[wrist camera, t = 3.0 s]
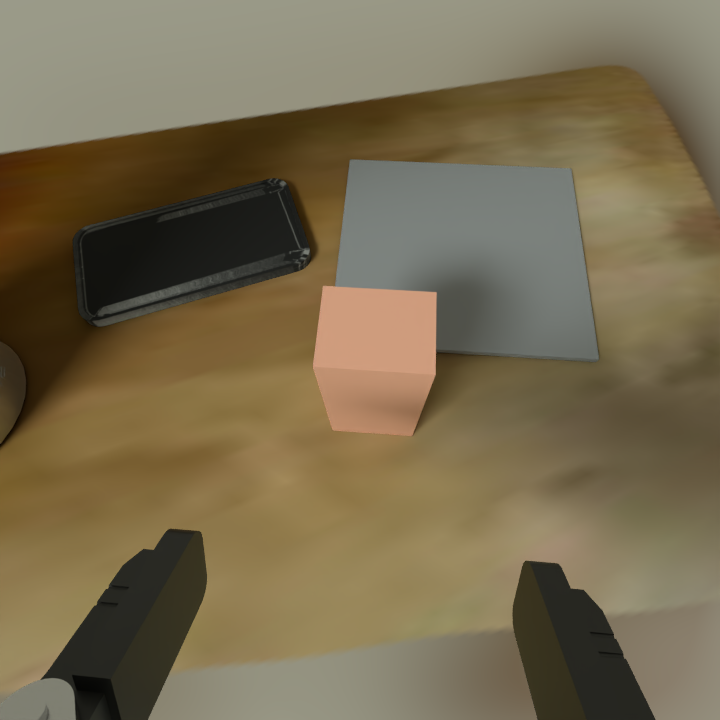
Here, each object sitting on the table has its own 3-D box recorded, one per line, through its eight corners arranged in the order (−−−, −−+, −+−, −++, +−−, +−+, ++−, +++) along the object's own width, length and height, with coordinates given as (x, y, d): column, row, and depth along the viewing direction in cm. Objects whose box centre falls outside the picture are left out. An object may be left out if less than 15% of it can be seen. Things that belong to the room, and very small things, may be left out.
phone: (313, 259, 29) (79, 325, 27) (315, 269, 30) (89, 333, 28) (283, 173, 32) (71, 228, 30) (286, 185, 33) (81, 238, 31)
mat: (329, 345, 27) (328, 342, 27) (350, 163, 33) (350, 159, 33) (596, 362, 26) (599, 359, 26) (568, 172, 32) (571, 168, 32)
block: (332, 430, 25) (313, 366, 16) (338, 372, 26) (323, 286, 18) (412, 436, 25) (435, 374, 16) (414, 377, 26) (436, 292, 17)
